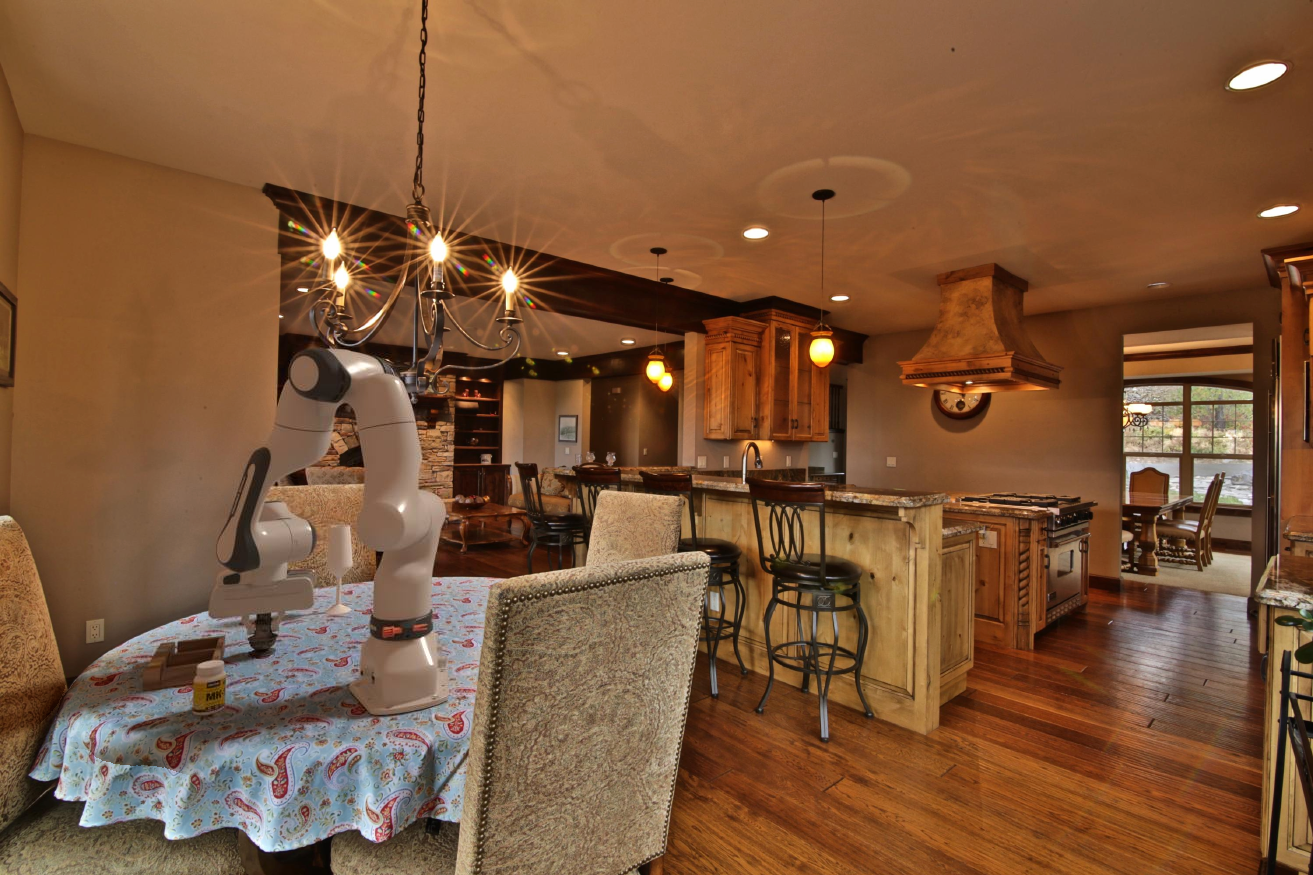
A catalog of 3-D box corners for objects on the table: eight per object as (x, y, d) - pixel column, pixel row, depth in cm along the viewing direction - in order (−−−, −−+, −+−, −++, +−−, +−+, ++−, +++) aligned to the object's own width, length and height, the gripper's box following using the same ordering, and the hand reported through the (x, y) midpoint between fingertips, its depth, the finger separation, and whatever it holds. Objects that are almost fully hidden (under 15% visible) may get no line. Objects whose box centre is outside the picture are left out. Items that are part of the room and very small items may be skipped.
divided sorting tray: (216, 679, 122) (216, 660, 122) (142, 691, 116) (143, 670, 116) (224, 651, 137) (225, 634, 137) (160, 659, 131) (160, 641, 131)
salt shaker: (241, 653, 135) (243, 600, 135) (268, 646, 141) (270, 595, 141) (256, 659, 133) (258, 605, 133) (283, 651, 138) (285, 599, 138)
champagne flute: (350, 606, 174) (352, 523, 174) (352, 612, 168) (355, 527, 168) (323, 609, 170) (326, 524, 170) (325, 615, 165) (328, 528, 165)
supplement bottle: (205, 718, 106) (207, 670, 106) (185, 713, 107) (187, 667, 107) (231, 706, 111) (232, 661, 111) (212, 702, 112) (213, 657, 112)
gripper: (316, 564, 145) (315, 622, 145) (211, 573, 134) (210, 634, 134) (317, 570, 139) (316, 629, 139) (208, 579, 129) (206, 643, 129)
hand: (263, 632), depth 137 cm, fingers closed on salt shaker, 3 cm apart
